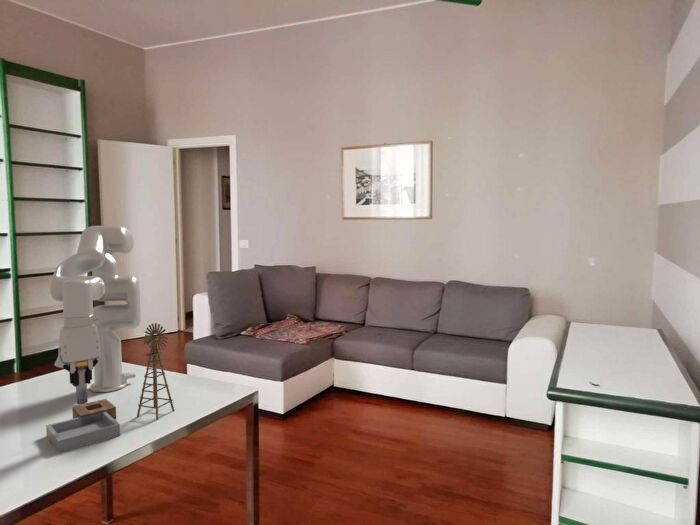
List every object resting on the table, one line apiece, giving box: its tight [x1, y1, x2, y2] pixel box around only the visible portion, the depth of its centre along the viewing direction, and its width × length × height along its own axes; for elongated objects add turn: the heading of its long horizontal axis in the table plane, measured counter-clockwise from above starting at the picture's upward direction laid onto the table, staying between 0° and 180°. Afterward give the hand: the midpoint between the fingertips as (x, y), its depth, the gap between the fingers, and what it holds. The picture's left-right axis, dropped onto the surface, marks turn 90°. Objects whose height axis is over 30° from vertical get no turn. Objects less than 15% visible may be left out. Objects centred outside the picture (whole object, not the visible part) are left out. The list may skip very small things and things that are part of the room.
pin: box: [75, 360, 89, 405], centre depth 140 cm, size 4×4×12 cm
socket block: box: [71, 398, 117, 425], centre depth 154 cm, size 10×10×4 cm
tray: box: [45, 412, 121, 453], centre depth 142 cm, size 16×14×3 cm
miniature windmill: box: [136, 322, 175, 421], centre depth 157 cm, size 9×8×30 cm
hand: (81, 383), depth 140 cm, fingers closed on pin, 2 cm apart
